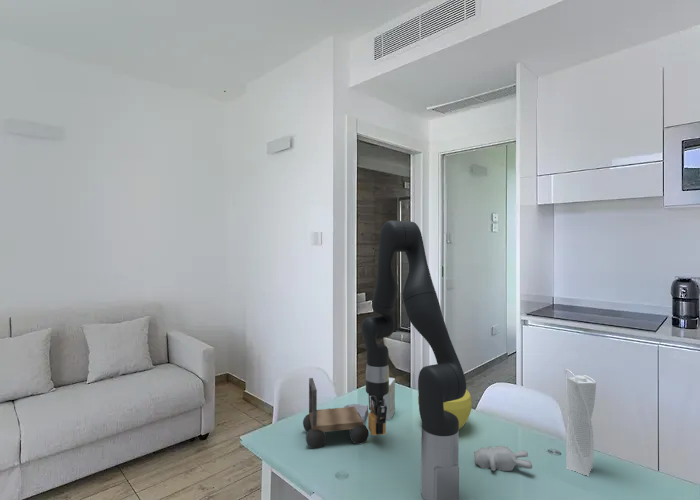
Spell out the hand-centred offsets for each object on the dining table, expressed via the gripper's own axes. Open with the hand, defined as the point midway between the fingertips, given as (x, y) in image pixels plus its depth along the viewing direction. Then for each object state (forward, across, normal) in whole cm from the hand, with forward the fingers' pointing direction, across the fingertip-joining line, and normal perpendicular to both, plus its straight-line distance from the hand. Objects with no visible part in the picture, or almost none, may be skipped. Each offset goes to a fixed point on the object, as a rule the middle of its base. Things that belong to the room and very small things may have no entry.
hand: (376, 429), depth 127 cm
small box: (+4, +18, -8) cm, 20 cm away
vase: (+4, +5, -26) cm, 27 cm away
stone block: (+4, +18, +4) cm, 19 cm away
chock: (0, 0, 0) cm, 0 cm away
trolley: (+4, +5, +13) cm, 14 cm away
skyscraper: (+4, -27, -52) cm, 59 cm away
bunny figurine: (+4, -22, -31) cm, 38 cm away
